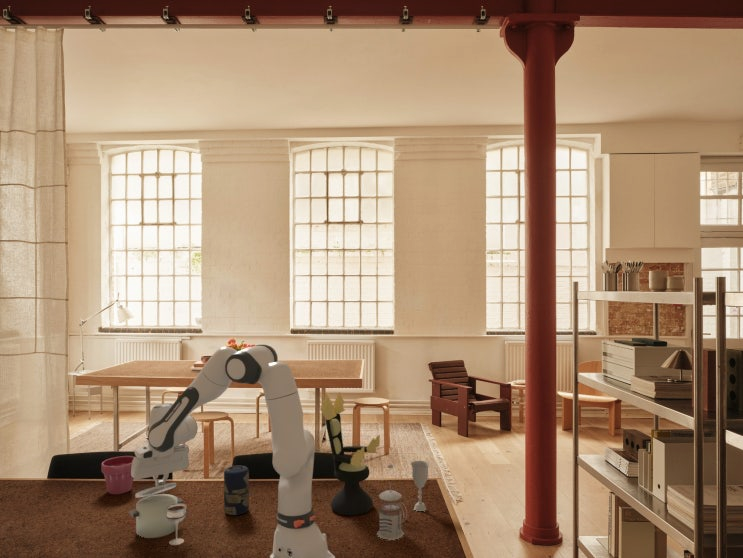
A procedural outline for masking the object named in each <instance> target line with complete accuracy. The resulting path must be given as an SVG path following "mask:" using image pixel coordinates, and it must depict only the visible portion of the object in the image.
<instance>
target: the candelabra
mask: <svg viewBox="0 0 743 558" xmlns="http://www.w3.org/2000/svg"><path fill="white" fill-rule="evenodd" d="M324 397H325V398H324V399H322V404H321V407H320V411H321V413H322V416H323V417H324V421H325V427H326V432H327V435H328V436H327V437H328V441H329V445H330V449H331V453H332V459H333V466H334V470H333V471H334V472H333V473H334V477H335V478H336V479H337V480H338V481H340V482H343V483H344V486H343V487H342V488H341V489H340V490H339V491H337V492H336V494H335V495H334V496H333V497H332V499H331V501H330V507H331V509H332V510H333V511H334V512H335V513H337V514H339V515H344V516H359V515H360V516H361V515H363V514H366V513H368V512H369V511H370V510H371V509H372V508H373V507H374V502H373V498H372V497H371V495H369V494H368V493H367V491H365V490H364V489H363V488H362V487H361V485H360V483H361V482H363V481H365V480H366V479H367V478H369V475H370V469H369V467H368V465H366V464H365V463H363V462H362V460H363V459H365V453H368V454H369V453H370V454H377V448H378V447H380V440H381V439H380V438H381V437H380V436H381V435H380V434H378V435H377V436H376V438H374V437H373V438H372V439H371V440H370V442H369V444H368V445H367V446H357V445H356V446H355V445H354V446H353V445H352V446H351V445H349V446H348V445H347V446H344V444H343V434H342V433H343V432H342V421H341V415H340V414H341V413H344V411H346V409H345V408H344V403H345V400H344V398H343V397H342V395H341V393H340V392H338V394H337V397H336V398H335V401H334V402H332V400H331V398H330V396H329V395H328V393H326V394H325V395H324ZM345 453H354V454H353V455H352V456H347V455H345Z"/></svg>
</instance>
